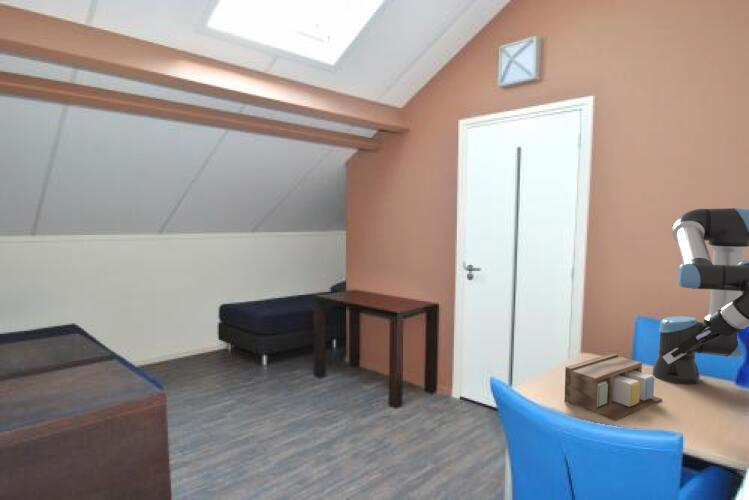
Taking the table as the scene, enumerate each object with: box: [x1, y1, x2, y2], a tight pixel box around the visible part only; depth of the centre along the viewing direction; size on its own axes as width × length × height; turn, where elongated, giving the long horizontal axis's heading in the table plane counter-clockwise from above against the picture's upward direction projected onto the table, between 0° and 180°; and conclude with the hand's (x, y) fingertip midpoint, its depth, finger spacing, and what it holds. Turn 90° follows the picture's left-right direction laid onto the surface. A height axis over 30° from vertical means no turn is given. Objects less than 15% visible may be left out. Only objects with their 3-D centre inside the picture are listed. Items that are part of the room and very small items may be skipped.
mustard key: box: [612, 375, 640, 407], centre depth 150 cm, size 8×5×8 cm, turn 32°
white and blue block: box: [628, 370, 655, 400], centre depth 155 cm, size 8×5×8 cm, turn 32°
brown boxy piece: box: [564, 352, 663, 422], centre depth 153 cm, size 18×28×12 cm, turn 122°
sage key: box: [597, 380, 608, 407], centre depth 150 cm, size 8×5×8 cm, turn 32°
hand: (666, 360), depth 147 cm, fingers closed
